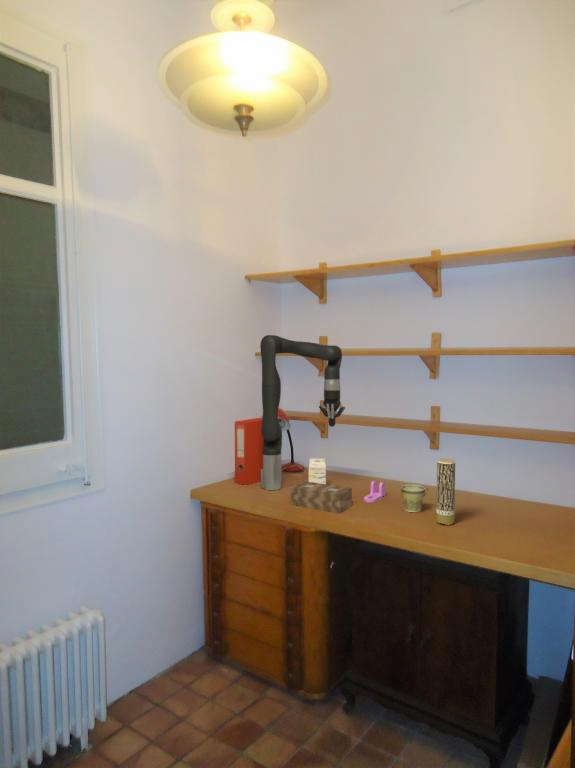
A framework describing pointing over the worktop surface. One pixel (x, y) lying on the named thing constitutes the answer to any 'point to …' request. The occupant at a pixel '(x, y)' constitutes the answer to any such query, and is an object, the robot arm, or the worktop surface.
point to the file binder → (248, 451)
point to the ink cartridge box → (317, 471)
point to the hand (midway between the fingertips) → (332, 426)
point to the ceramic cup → (413, 497)
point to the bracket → (375, 492)
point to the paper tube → (445, 491)
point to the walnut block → (321, 497)
